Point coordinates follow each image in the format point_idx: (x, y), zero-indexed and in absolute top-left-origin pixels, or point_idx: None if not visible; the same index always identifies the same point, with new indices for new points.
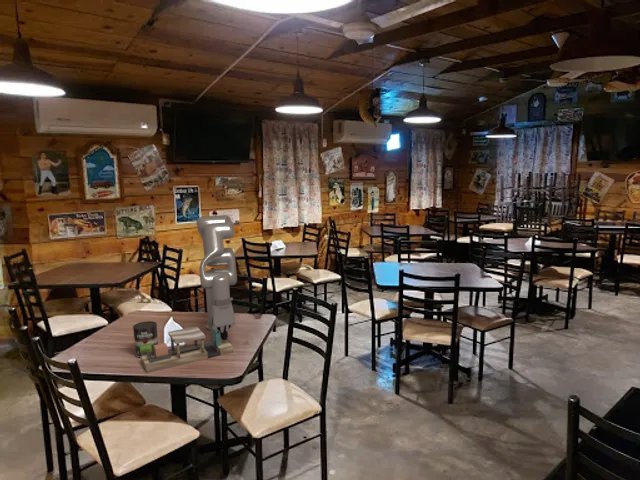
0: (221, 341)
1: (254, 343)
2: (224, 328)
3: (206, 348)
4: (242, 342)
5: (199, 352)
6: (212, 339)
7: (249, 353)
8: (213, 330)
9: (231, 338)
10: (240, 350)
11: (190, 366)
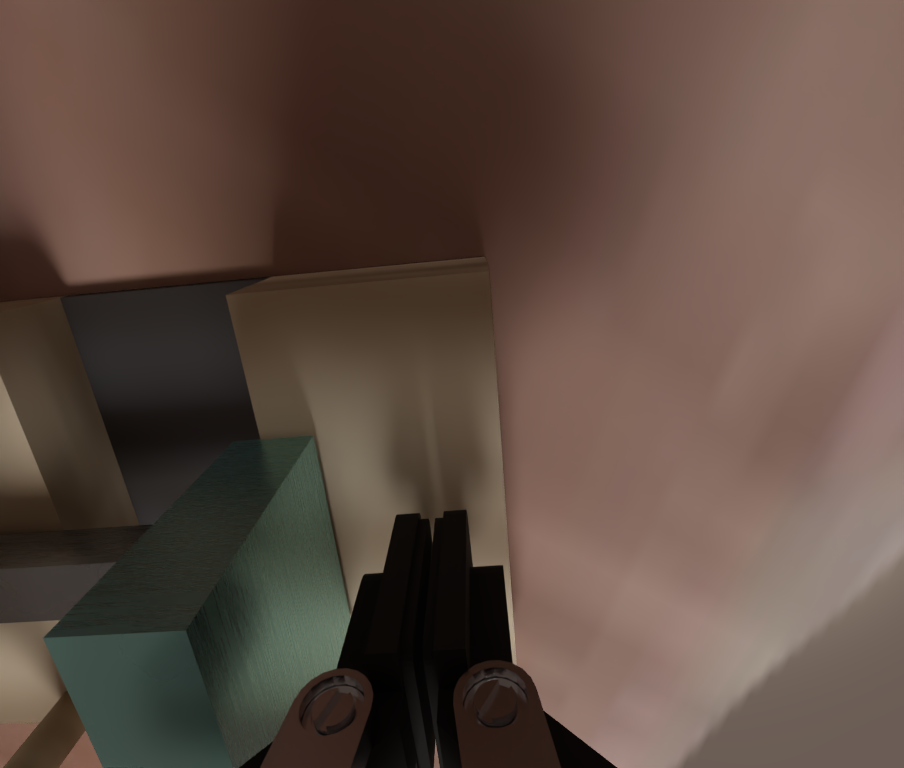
0: (400, 457)
1: (893, 495)
2: (459, 749)
3: (173, 368)
4: (767, 369)
5: (31, 687)
6: (207, 469)
7: (667, 728)
8: (101, 696)
9: (692, 54)
10: (612, 616)
11: (8, 728)
